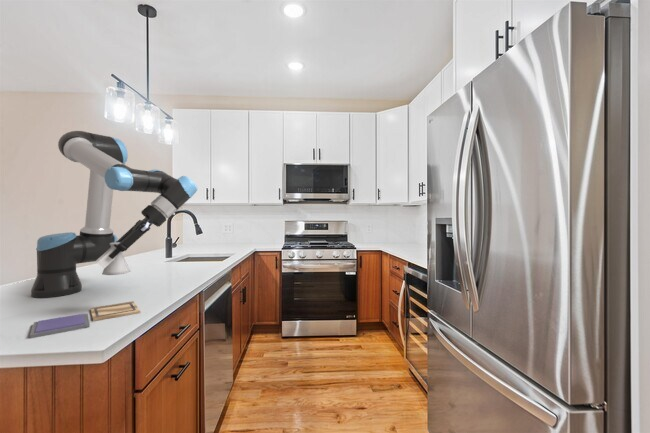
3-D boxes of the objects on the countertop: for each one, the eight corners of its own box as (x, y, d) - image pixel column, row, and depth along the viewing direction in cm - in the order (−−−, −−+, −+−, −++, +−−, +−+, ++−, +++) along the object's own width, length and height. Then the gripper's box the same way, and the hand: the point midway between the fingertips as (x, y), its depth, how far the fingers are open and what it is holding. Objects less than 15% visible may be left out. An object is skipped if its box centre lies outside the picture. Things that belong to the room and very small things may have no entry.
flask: (116, 276, 95) (115, 244, 95) (96, 275, 97) (96, 243, 96) (135, 271, 102) (134, 241, 102) (116, 271, 104) (116, 241, 104)
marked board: (90, 309, 101) (90, 307, 101) (133, 302, 109) (133, 300, 109) (93, 321, 90) (93, 319, 90) (140, 312, 98) (140, 310, 98)
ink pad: (34, 324, 87) (34, 320, 87) (87, 315, 95) (87, 312, 95) (29, 338, 78) (29, 333, 78) (89, 327, 86) (89, 322, 86)
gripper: (173, 219, 102) (113, 276, 92) (161, 218, 115) (108, 268, 105) (154, 203, 99) (90, 260, 89) (145, 204, 112) (88, 254, 101)
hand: (100, 264), depth 97 cm, fingers closed on flask, 3 cm apart
